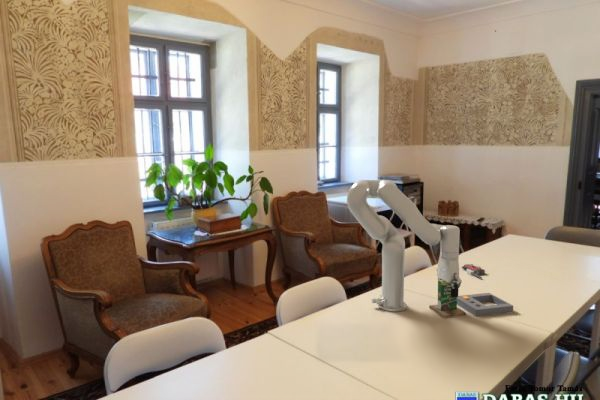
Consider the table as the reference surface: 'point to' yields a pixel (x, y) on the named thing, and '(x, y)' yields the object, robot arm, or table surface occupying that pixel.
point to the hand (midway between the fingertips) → (447, 292)
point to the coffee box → (445, 296)
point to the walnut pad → (447, 311)
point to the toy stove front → (479, 309)
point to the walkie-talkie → (474, 270)
